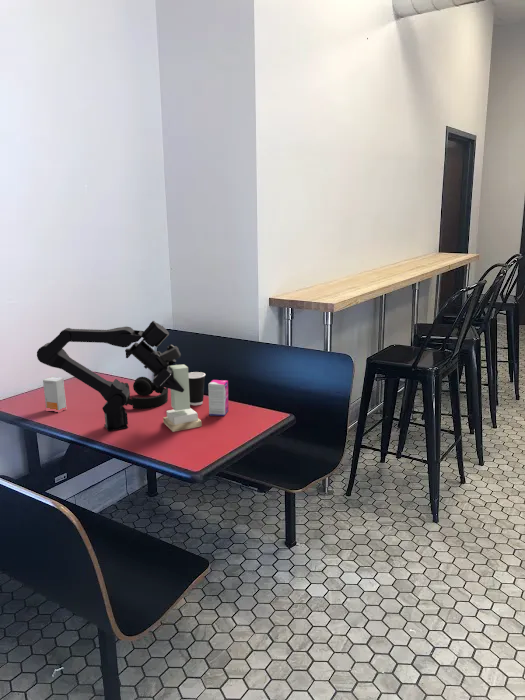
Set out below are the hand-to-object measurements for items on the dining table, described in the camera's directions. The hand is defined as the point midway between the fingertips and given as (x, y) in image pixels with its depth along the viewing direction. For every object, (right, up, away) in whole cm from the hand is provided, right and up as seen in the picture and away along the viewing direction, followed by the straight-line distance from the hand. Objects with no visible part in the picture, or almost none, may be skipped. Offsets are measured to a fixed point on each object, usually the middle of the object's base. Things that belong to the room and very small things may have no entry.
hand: (184, 388), depth 192 cm
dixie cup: (+1, -7, +25) cm, 26 cm away
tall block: (-1, -6, +1) cm, 7 cm away
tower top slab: (-1, -10, +2) cm, 11 cm away
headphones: (-19, -7, +29) cm, 36 cm away
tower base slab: (-1, -13, +3) cm, 13 cm away
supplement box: (+11, -10, +13) cm, 19 cm away
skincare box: (-49, -10, +21) cm, 54 cm away
